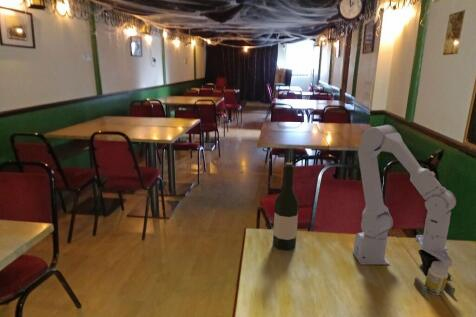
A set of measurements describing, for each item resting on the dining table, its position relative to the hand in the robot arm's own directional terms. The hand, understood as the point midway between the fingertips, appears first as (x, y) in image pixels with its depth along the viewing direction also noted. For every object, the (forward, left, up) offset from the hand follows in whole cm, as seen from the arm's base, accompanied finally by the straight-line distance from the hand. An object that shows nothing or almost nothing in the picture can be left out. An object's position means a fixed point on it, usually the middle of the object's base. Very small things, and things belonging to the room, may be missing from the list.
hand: (428, 275), depth 100 cm
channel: (0, -3, -3) cm, 4 cm away
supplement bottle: (0, -3, -3) cm, 4 cm away
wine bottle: (-39, +23, -3) cm, 45 cm away
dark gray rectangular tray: (+5, +5, -3) cm, 8 cm away
